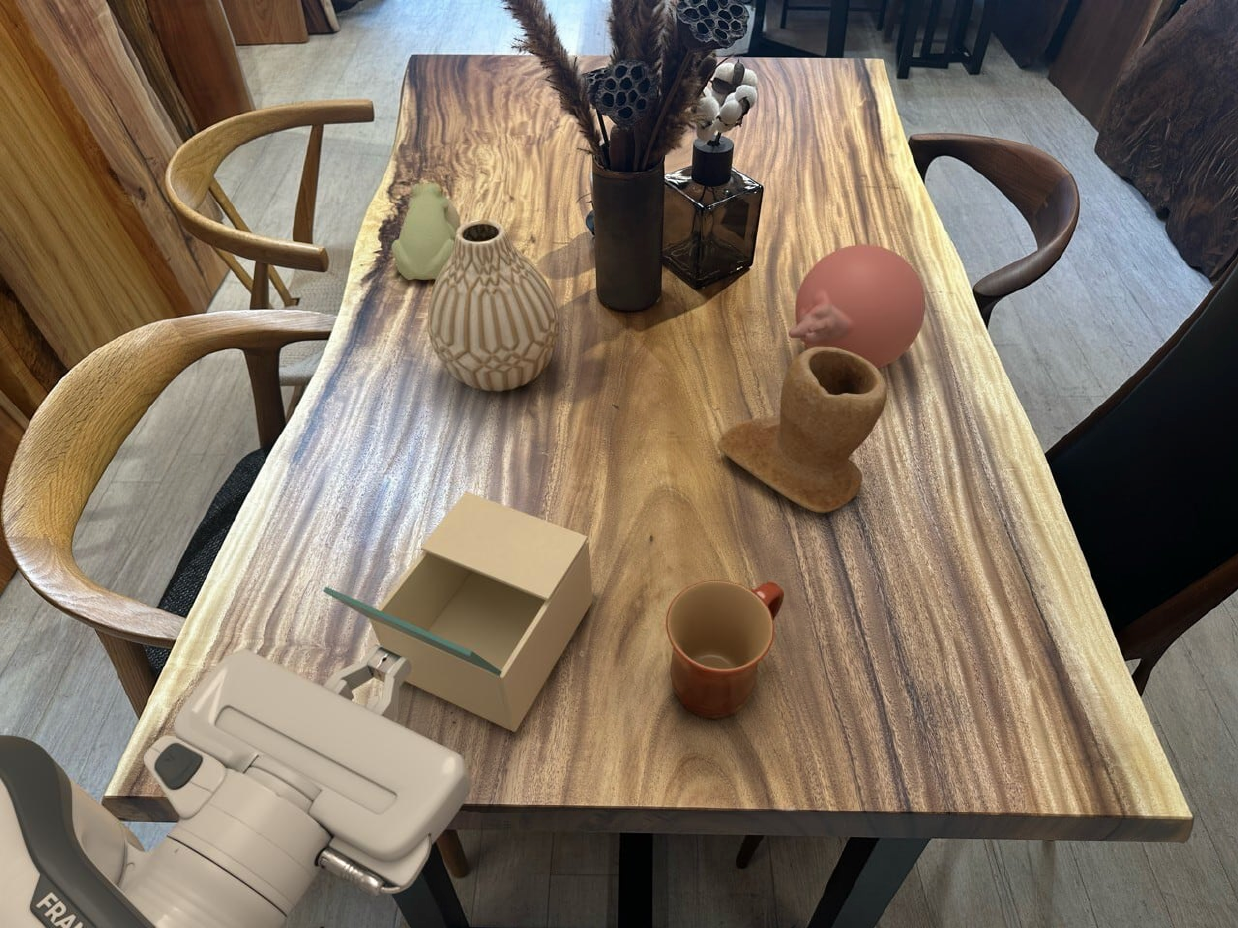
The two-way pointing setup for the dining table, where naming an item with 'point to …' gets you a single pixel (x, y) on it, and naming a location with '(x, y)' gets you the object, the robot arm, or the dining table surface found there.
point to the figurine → (426, 233)
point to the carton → (490, 606)
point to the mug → (719, 643)
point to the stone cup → (813, 429)
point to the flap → (414, 631)
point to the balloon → (861, 304)
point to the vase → (491, 311)
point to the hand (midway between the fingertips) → (394, 655)
